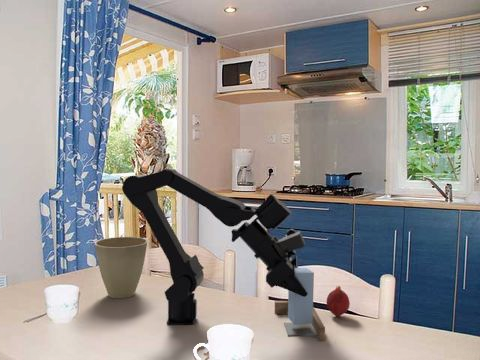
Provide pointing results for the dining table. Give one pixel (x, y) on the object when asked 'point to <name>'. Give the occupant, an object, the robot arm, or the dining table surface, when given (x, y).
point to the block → (302, 299)
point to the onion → (338, 302)
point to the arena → (301, 329)
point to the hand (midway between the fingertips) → (306, 291)
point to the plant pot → (121, 264)
